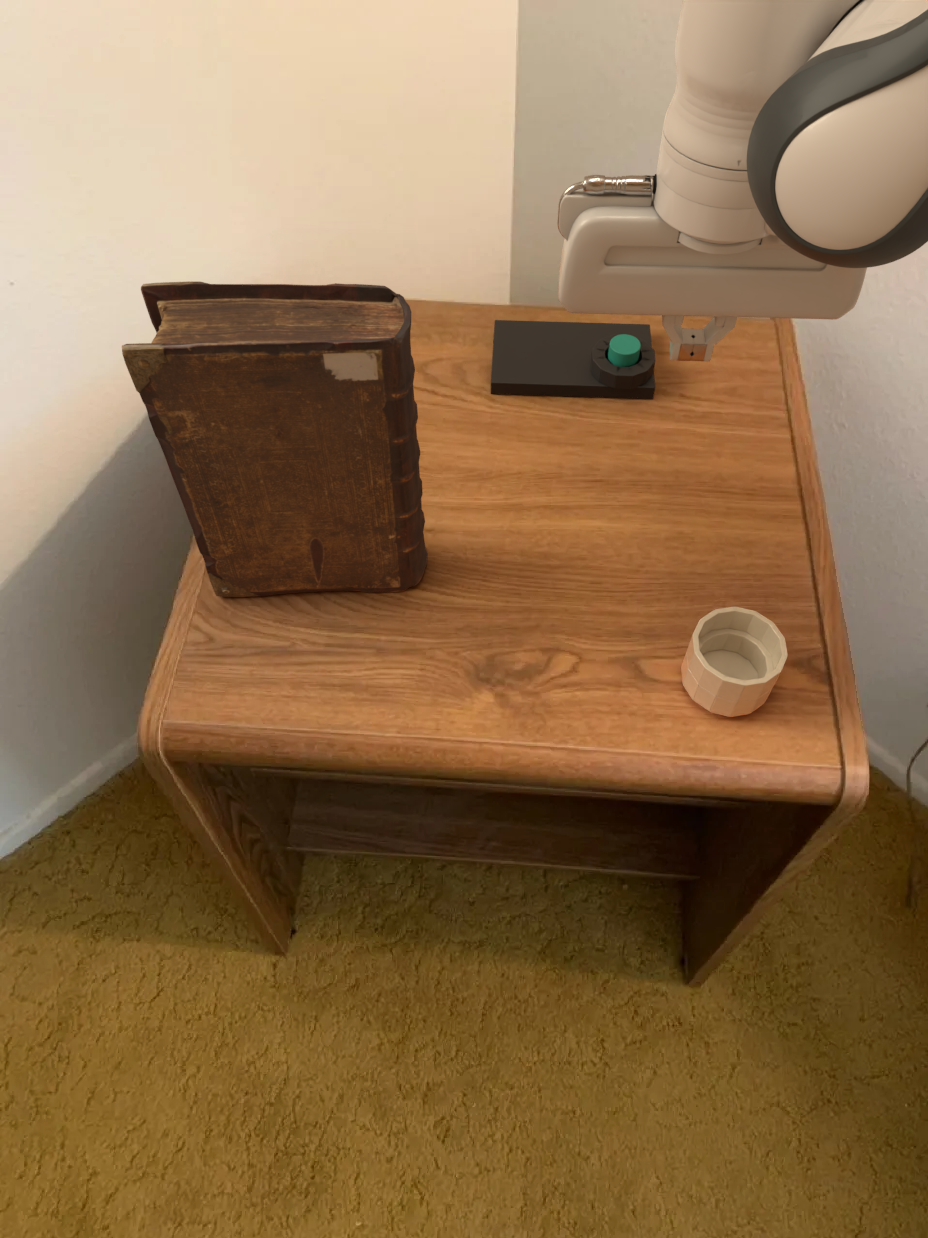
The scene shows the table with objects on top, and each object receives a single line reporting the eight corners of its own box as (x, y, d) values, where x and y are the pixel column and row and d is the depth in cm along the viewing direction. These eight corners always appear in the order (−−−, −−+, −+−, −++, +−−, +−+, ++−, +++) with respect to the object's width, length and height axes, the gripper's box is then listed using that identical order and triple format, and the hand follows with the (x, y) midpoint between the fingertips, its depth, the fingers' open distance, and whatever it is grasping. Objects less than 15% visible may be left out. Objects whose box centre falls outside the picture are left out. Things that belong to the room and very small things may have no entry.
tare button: (637, 347, 85) (640, 334, 84) (639, 368, 84) (641, 354, 82) (607, 346, 85) (609, 333, 84) (608, 367, 84) (610, 353, 83)
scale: (647, 335, 90) (652, 310, 88) (653, 401, 85) (658, 376, 83) (494, 331, 91) (494, 305, 88) (490, 396, 86) (490, 371, 83)
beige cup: (762, 645, 70) (780, 608, 66) (773, 722, 66) (793, 687, 62) (677, 642, 70) (689, 604, 66) (683, 718, 66) (697, 683, 62)
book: (432, 544, 76) (415, 281, 55) (422, 615, 72) (400, 360, 51) (232, 532, 77) (142, 269, 56) (211, 601, 73) (107, 345, 52)
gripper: (559, 203, 56) (548, 380, 68) (902, 209, 55) (833, 388, 67) (560, 148, 60) (550, 325, 71) (883, 152, 59) (820, 331, 70)
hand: (689, 355), depth 69 cm, fingers closed
